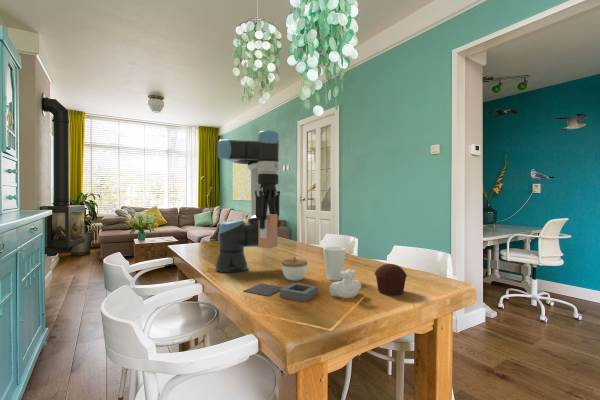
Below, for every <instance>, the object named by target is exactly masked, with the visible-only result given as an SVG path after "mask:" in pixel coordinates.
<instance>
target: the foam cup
mask: <svg viewBox="0 0 600 400" xmlns="http://www.w3.org/2000/svg"><path fill="white" fill-rule="evenodd" d="M322 254H323V258H324V265H325V274H326V280H328V281H333V282H338V281H342V280H343V275H341V273H340V271H344V266H345V265H344V263H345V256H346V248H345V247H343V246H342V247H341V246H325V247H323V253H322Z"/></svg>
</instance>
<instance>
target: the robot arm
mask: <svg viewBox="0 0 600 400" xmlns="http://www.w3.org/2000/svg"><path fill="white" fill-rule="evenodd" d="M257 134H258V136H257V140H246V139H245V140H243V139H241V140H238V139H227V138H226V139H219V140H218V141H217V156H218V159H220V160H227V161H228V162H231V163H234V164H238V165H247V169H248V170H250V205H251V206H250V217H249V218H248V219H247V220H248V222H245V220H243V219H236V220H228V221H225V222H221V223H220V224H219V227H218V230H219V231H218V234H219V235H218V236H219V237H218V239H219V241H218V256H217V260H216V263H215V265H214V270H215V271H216V272H218V271H219V273H239V272H244V271H246V270H248V262H247V260H246V256H245V252H244V251H245V249H244V248H249V247H253V248H254V247H258V236H259V220H260V238H267V220H266V215H267V214H277V220H278V219H279V218H280V196H281V190H277V187H276V185H278V184H279V174H278V173H279V147H280V144H279V143H280V140H279V133H278V132H277V131H275V130H267V129H266V130H260V131H259V132H258V133H257Z"/></svg>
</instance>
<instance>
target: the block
mask: <svg viewBox="0 0 600 400" xmlns="http://www.w3.org/2000/svg"><path fill="white" fill-rule="evenodd" d="M266 220H267V238H260V220H259V236H258V246H257V247H258V248H261V249H273V248H275V247H278V219H277V214H269V213H268V214H267V215H266Z"/></svg>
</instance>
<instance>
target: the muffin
mask: <svg viewBox="0 0 600 400" xmlns="http://www.w3.org/2000/svg"><path fill="white" fill-rule="evenodd" d="M374 275H375V277H376V284H377V285H376V286H377V291H378V293H379V294H382V295H386V296H393V297H394V296H401V295H402V294H404V290H405V283H406V279H407V276H408V275H407V274H406V272H405V270H404V269H403V268H402V267H401V266H400V265H397V264H394V263H385V264H382V265H381V266H379V267H378V268H377V269H376V270H375V272H374Z"/></svg>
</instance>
